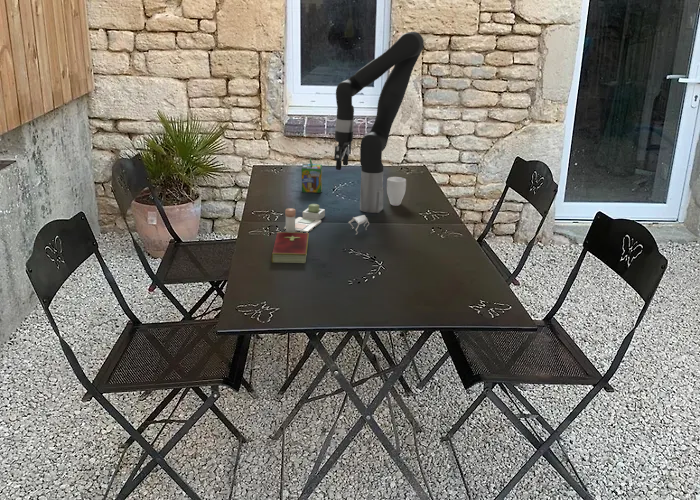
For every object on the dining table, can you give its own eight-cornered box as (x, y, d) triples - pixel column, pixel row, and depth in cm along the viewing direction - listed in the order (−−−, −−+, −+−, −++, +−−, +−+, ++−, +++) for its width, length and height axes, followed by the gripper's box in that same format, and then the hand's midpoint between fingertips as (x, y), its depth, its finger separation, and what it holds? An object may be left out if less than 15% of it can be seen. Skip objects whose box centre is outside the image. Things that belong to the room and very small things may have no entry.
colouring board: (321, 222, 270) (321, 219, 269) (307, 233, 257) (307, 230, 257) (298, 218, 273) (298, 216, 272) (284, 229, 260) (284, 227, 260)
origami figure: (347, 225, 267) (348, 213, 265) (368, 226, 268) (369, 214, 266) (348, 236, 256) (348, 223, 254) (370, 236, 256) (370, 224, 255)
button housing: (324, 216, 277) (324, 209, 275) (318, 221, 270) (318, 214, 269) (309, 213, 279) (309, 207, 278) (302, 218, 273) (302, 211, 271)
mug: (404, 207, 291) (406, 182, 287) (385, 206, 291) (387, 181, 287) (404, 199, 302) (406, 174, 298) (386, 198, 303) (387, 174, 298)
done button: (320, 211, 275) (320, 204, 274) (316, 214, 271) (316, 207, 270) (311, 210, 276) (311, 203, 275) (306, 213, 272) (306, 206, 271)
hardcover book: (271, 263, 229) (271, 252, 228) (276, 241, 249) (276, 231, 247) (306, 264, 230) (306, 253, 228) (308, 242, 249) (308, 232, 248)
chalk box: (321, 193, 307) (321, 161, 301) (301, 192, 307) (301, 161, 301) (322, 187, 315) (322, 157, 310) (302, 187, 315) (303, 156, 310)
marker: (297, 234, 255) (297, 209, 252) (292, 237, 252) (292, 212, 248) (287, 233, 257) (287, 207, 253) (283, 236, 253) (283, 210, 250)
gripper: (347, 134, 270) (344, 172, 276) (358, 127, 283) (355, 164, 289) (329, 131, 272) (327, 170, 278) (341, 125, 285) (339, 162, 291)
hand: (341, 167), depth 284 cm, fingers open, 8 cm apart
